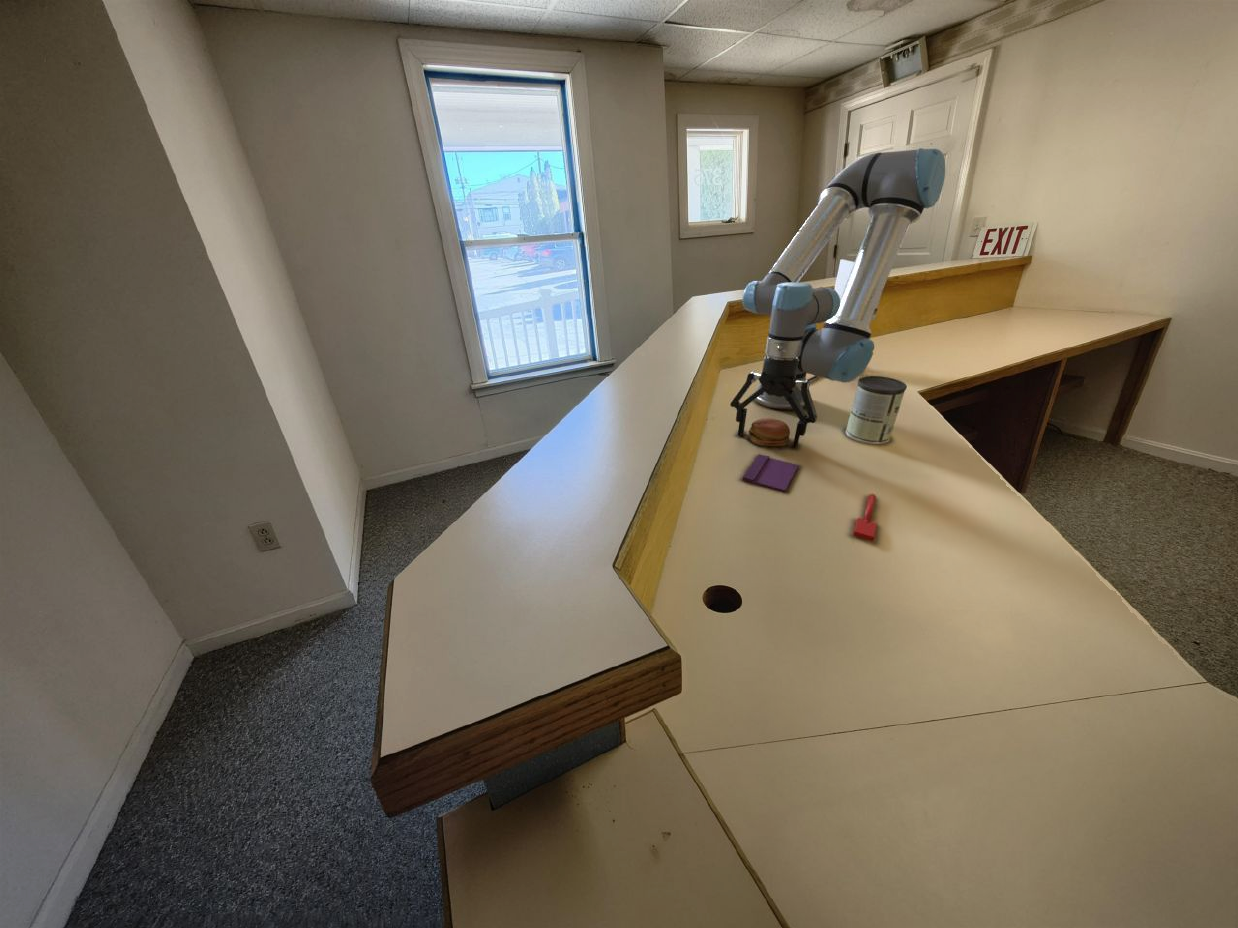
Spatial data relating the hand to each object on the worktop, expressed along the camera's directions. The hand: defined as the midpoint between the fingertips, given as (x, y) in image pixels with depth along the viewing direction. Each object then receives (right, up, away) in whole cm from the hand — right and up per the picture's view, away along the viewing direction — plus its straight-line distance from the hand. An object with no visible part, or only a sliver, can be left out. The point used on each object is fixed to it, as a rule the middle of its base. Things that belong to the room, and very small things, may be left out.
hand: (767, 439), depth 113 cm
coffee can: (+26, +1, +2) cm, 26 cm away
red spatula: (+10, -16, -27) cm, 33 cm away
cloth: (-4, -8, -14) cm, 17 cm away
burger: (0, 0, 0) cm, 0 cm away
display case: (+43, +30, +52) cm, 74 cm away
